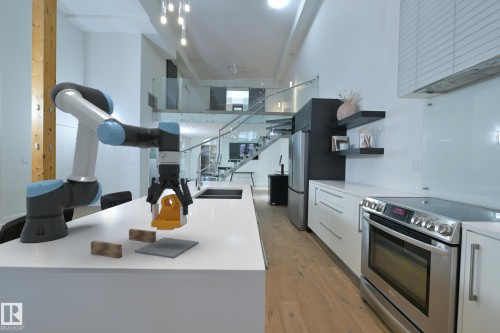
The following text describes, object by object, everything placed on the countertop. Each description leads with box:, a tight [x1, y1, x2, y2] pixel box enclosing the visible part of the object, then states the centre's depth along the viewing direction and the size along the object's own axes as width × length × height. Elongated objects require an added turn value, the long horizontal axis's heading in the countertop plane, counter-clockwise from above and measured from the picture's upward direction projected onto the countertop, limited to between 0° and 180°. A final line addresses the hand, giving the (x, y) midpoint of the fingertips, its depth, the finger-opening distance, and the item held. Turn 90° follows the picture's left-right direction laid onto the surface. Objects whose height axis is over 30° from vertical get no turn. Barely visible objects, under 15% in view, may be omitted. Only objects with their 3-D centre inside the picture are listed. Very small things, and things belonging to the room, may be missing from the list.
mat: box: [134, 237, 200, 259], centre depth 89 cm, size 16×16×1 cm
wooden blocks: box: [90, 228, 157, 259], centre depth 89 cm, size 12×18×4 cm, turn 162°
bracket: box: [150, 193, 188, 231], centre depth 89 cm, size 11×7×12 cm, turn 82°
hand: (169, 222), depth 89 cm, fingers closed on bracket, 11 cm apart
